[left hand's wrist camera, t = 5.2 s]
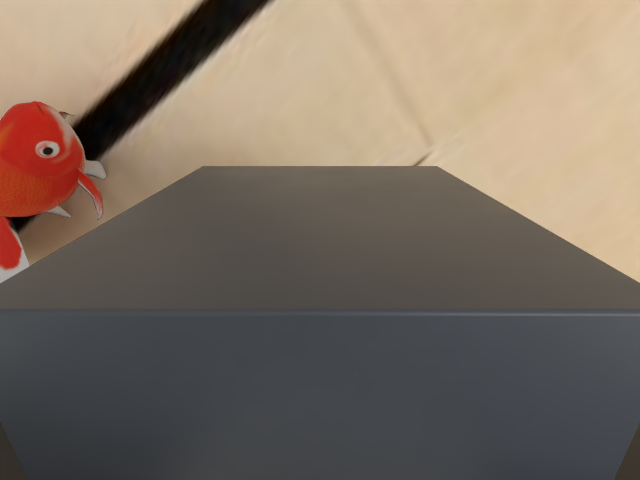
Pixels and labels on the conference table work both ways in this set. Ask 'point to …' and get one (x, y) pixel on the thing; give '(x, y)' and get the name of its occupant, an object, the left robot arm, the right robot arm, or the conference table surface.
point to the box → (320, 337)
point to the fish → (38, 173)
